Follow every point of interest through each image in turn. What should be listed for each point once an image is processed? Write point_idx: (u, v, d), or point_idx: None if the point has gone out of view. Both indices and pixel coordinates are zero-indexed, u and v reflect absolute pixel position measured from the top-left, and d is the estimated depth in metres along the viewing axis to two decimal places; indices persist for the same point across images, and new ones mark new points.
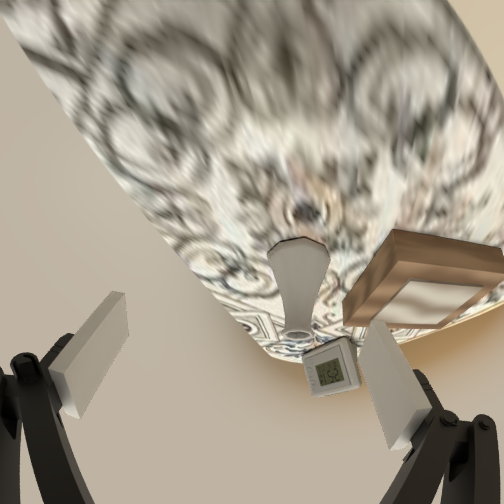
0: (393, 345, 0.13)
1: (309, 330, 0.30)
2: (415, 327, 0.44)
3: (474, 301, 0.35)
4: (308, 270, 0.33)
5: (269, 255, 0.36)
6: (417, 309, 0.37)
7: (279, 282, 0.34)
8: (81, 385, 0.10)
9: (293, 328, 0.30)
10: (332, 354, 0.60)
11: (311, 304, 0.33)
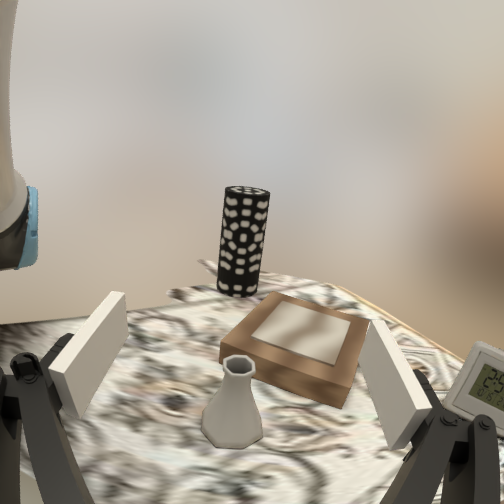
0: (393, 345, 0.13)
1: None
2: (361, 336, 0.45)
3: (311, 304, 0.53)
4: None
5: (214, 442, 0.29)
6: (310, 333, 0.44)
7: (221, 415, 0.29)
8: (81, 385, 0.10)
9: None
10: (471, 404, 0.31)
11: None
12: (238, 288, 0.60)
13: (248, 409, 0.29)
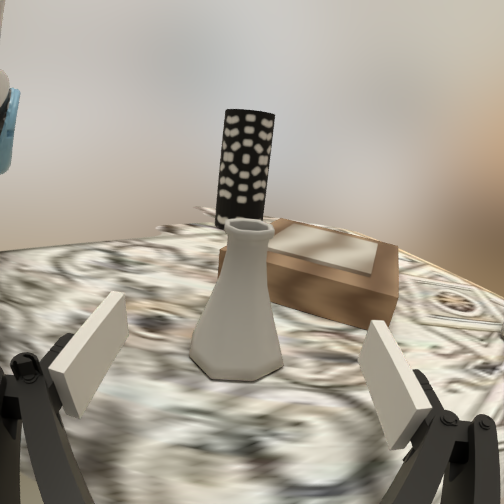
0: (393, 345, 0.13)
1: None
2: (394, 256, 0.36)
3: (328, 229, 0.44)
4: None
5: (209, 370, 0.20)
6: (333, 247, 0.35)
7: (219, 318, 0.20)
8: (81, 385, 0.10)
9: None
10: None
11: None
12: None
13: (262, 308, 0.20)
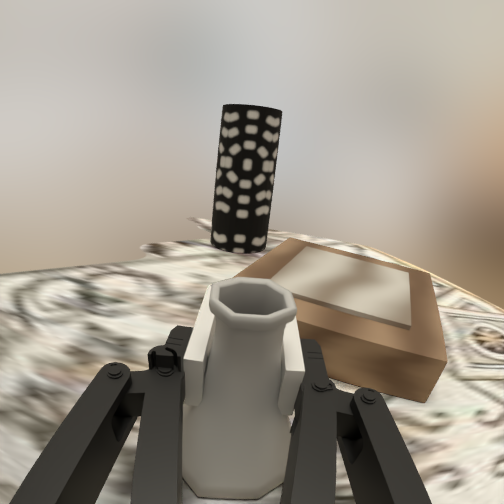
0: None
1: None
2: (429, 290, 0.28)
3: (347, 253, 0.36)
4: None
5: (195, 486, 0.12)
6: (358, 284, 0.27)
7: (206, 431, 0.12)
8: None
9: None
10: None
11: None
12: (240, 239, 0.43)
13: (272, 417, 0.12)
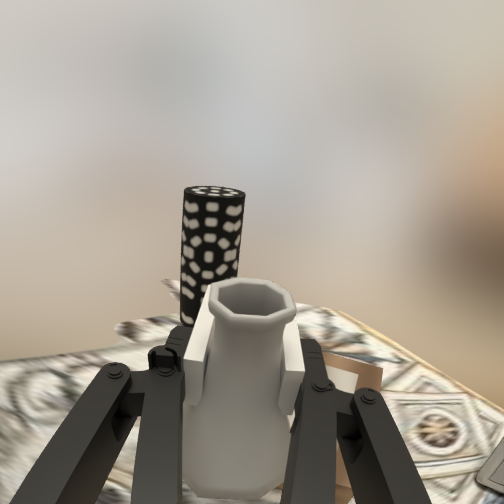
0: None
1: None
2: None
3: None
4: None
5: (194, 486, 0.12)
6: None
7: (206, 432, 0.11)
8: None
9: None
10: None
11: None
12: None
13: (272, 417, 0.12)
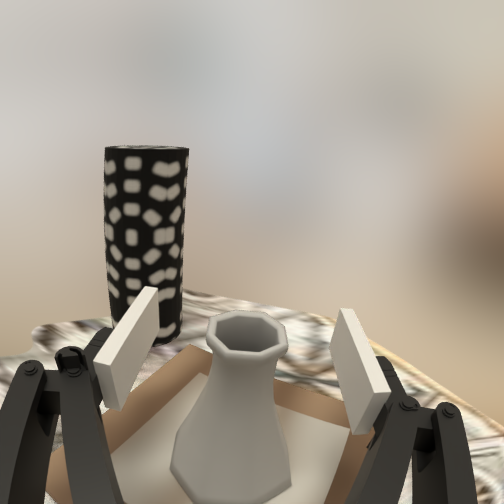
0: (359, 332, 0.14)
1: None
2: None
3: None
4: None
5: (193, 496, 0.12)
6: None
7: (204, 449, 0.12)
8: (123, 377, 0.11)
9: None
10: None
11: None
12: None
13: (266, 438, 0.12)
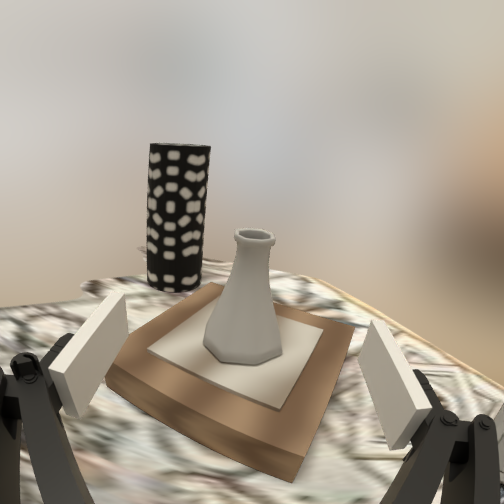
0: (393, 345, 0.13)
1: None
2: (340, 353, 0.27)
3: None
4: None
5: (219, 354, 0.24)
6: None
7: (229, 311, 0.24)
8: (81, 385, 0.10)
9: None
10: None
11: None
12: (169, 279, 0.42)
13: (265, 303, 0.24)
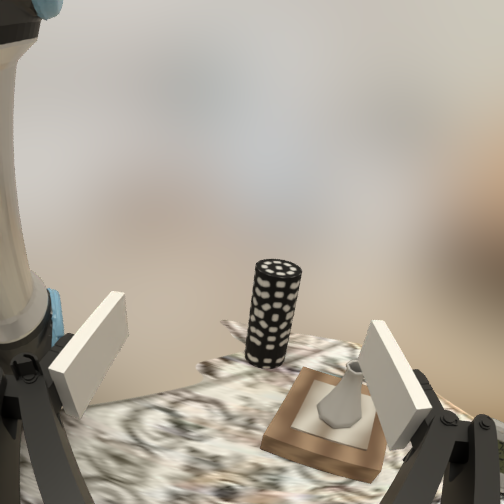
0: (393, 345, 0.13)
1: None
2: None
3: None
4: None
5: (332, 424, 0.40)
6: None
7: (340, 404, 0.40)
8: (81, 385, 0.10)
9: (347, 368, 0.40)
10: None
11: None
12: (268, 361, 0.58)
13: (358, 397, 0.40)
